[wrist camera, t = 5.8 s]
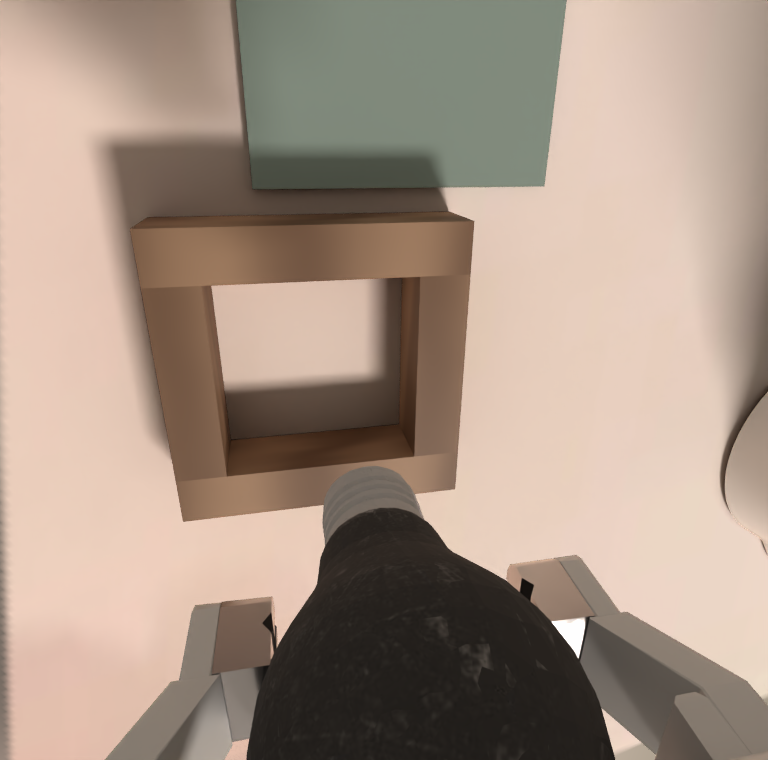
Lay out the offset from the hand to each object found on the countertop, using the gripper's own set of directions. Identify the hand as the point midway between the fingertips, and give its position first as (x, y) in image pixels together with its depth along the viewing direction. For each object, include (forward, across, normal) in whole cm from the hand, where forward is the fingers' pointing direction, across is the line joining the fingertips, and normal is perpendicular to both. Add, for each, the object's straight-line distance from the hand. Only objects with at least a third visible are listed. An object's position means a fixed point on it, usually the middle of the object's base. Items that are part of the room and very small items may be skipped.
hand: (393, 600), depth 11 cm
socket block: (+14, +1, 0) cm, 14 cm away
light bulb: (+4, 0, 0) cm, 4 cm away
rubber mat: (+15, -3, -12) cm, 19 cm away
